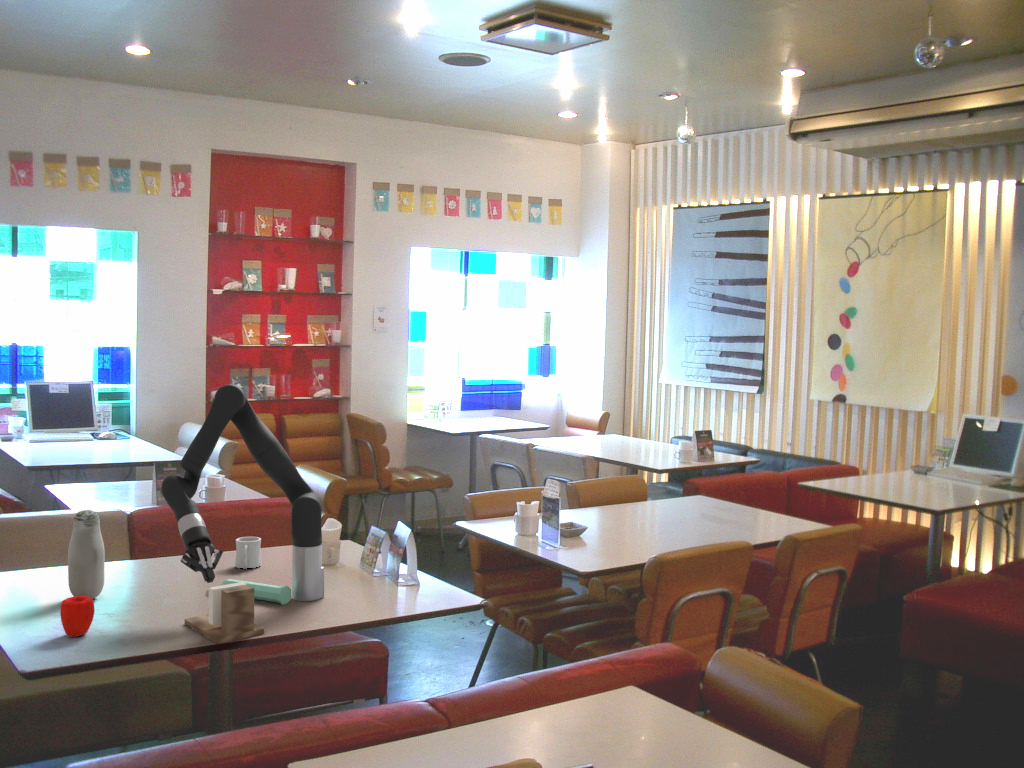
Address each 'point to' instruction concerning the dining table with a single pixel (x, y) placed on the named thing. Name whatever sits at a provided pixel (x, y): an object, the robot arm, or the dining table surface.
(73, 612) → the apple
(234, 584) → the white square block
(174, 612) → the dining table surface
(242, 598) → the rod rig
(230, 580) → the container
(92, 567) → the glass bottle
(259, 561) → the mug
